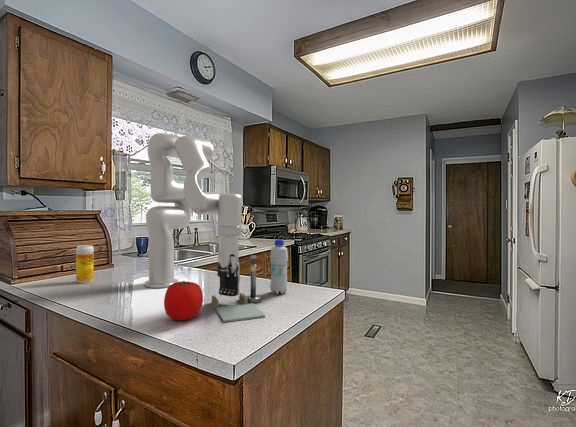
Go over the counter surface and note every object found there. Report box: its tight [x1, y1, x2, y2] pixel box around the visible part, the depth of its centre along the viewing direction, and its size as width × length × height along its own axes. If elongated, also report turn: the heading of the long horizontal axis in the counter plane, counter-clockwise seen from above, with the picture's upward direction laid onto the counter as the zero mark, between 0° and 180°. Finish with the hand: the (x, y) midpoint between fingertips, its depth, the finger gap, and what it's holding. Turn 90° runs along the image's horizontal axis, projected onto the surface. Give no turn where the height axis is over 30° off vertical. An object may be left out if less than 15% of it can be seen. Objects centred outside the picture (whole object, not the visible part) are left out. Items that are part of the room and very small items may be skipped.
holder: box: [211, 292, 248, 310], centre depth 103 cm, size 7×10×2 cm
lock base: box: [245, 294, 262, 305], centre depth 106 cm, size 5×5×2 cm
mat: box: [215, 303, 266, 324], centre depth 95 cm, size 12×12×1 cm
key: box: [249, 254, 257, 298], centre depth 103 cm, size 2×13×14 cm, turn 5°
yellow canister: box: [75, 244, 95, 284], centre depth 130 cm, size 6×6×15 cm
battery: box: [216, 261, 241, 297], centre depth 103 cm, size 7×4×11 cm, turn 70°
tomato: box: [163, 280, 204, 321], centre depth 90 cm, size 10×11×11 cm
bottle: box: [269, 238, 289, 295], centre depth 117 cm, size 7×7×20 cm
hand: (227, 285), depth 103 cm, fingers closed on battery, 6 cm apart
